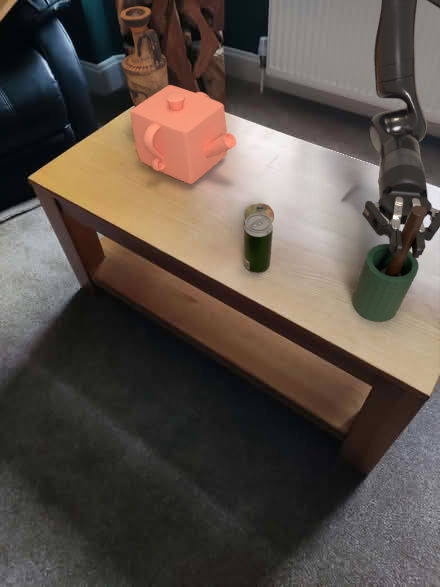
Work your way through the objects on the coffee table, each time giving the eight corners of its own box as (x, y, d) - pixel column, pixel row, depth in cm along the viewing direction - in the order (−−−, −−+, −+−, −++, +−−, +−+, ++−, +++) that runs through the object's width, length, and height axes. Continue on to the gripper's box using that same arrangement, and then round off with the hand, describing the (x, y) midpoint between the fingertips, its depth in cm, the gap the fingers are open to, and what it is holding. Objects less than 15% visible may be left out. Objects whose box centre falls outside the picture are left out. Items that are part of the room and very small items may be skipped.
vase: (129, 137, 119) (100, 16, 95) (154, 119, 124) (133, -1, 100) (159, 150, 114) (137, 26, 91) (184, 130, 120) (169, 8, 96)
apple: (268, 244, 92) (269, 224, 88) (238, 228, 95) (238, 208, 91) (283, 228, 95) (285, 207, 90) (254, 213, 98) (254, 193, 93)
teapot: (260, 161, 110) (263, 93, 95) (206, 211, 99) (200, 143, 85) (185, 131, 119) (177, 65, 105) (128, 173, 109) (111, 107, 95)
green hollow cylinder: (378, 280, 85) (395, 237, 76) (407, 311, 80) (429, 269, 71) (343, 296, 83) (356, 254, 74) (370, 328, 78) (388, 288, 69)
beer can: (254, 279, 87) (256, 237, 77) (238, 263, 89) (238, 220, 80) (275, 266, 88) (279, 224, 79) (258, 251, 91) (260, 208, 81)
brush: (384, 282, 80) (420, 198, 64) (398, 296, 78) (438, 213, 62) (368, 289, 79) (399, 206, 63) (381, 304, 77) (417, 222, 61)
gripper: (365, 159, 74) (366, 231, 63) (451, 166, 72) (466, 241, 61) (356, 194, 80) (355, 264, 69) (435, 201, 78) (446, 274, 67)
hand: (407, 253), depth 66 cm, fingers closed on brush, 2 cm apart
